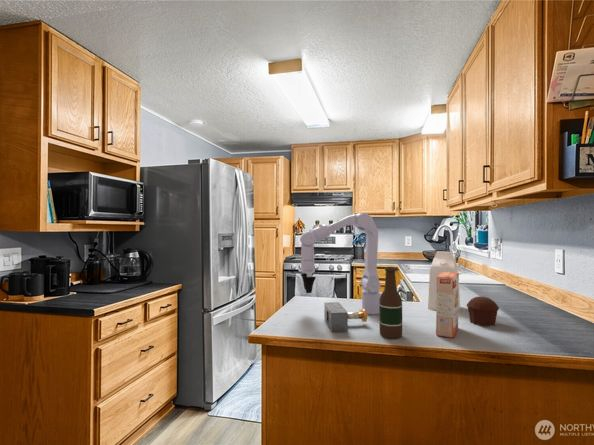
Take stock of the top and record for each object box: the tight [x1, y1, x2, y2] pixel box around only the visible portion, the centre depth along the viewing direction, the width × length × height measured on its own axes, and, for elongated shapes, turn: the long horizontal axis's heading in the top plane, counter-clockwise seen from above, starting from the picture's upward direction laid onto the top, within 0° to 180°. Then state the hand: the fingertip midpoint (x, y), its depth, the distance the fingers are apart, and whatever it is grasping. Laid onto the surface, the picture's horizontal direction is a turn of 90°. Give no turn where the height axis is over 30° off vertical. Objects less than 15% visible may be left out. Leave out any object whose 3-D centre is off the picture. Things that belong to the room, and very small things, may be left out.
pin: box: [347, 308, 368, 323], centre depth 134 cm, size 10×5×5 cm, turn 95°
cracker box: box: [435, 272, 460, 339], centre depth 124 cm, size 14×6×21 cm, turn 148°
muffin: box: [466, 296, 500, 327], centre depth 135 cm, size 12×11×10 cm
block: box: [323, 301, 349, 333], centre depth 133 cm, size 6×16×7 cm, turn 5°
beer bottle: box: [378, 266, 403, 340], centre depth 121 cm, size 8×8×24 cm
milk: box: [427, 250, 461, 311], centre depth 159 cm, size 12×12×26 cm
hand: (307, 291), depth 149 cm, fingers open, 7 cm apart
